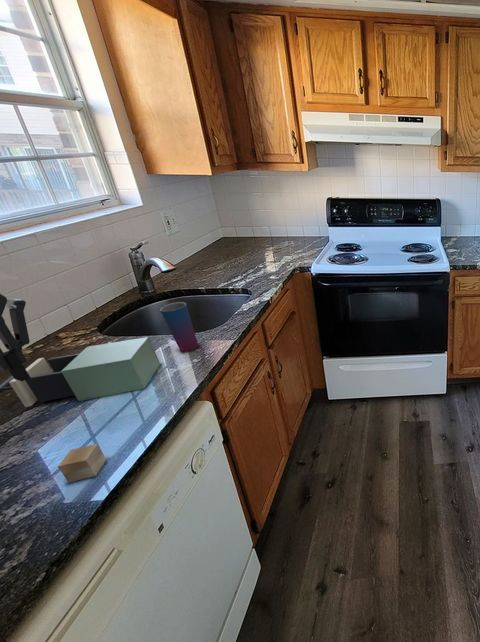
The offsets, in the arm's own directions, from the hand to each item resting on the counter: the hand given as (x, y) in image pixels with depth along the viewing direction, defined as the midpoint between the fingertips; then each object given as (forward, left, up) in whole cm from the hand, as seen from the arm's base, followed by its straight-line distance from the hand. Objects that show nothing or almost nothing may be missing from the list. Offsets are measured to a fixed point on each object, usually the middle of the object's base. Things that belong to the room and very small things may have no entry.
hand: (22, 378), depth 81 cm
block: (+15, -19, -14) cm, 28 cm away
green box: (+8, +16, -14) cm, 23 cm away
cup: (+21, +30, -15) cm, 39 cm away
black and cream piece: (-7, +16, -14) cm, 22 cm away
